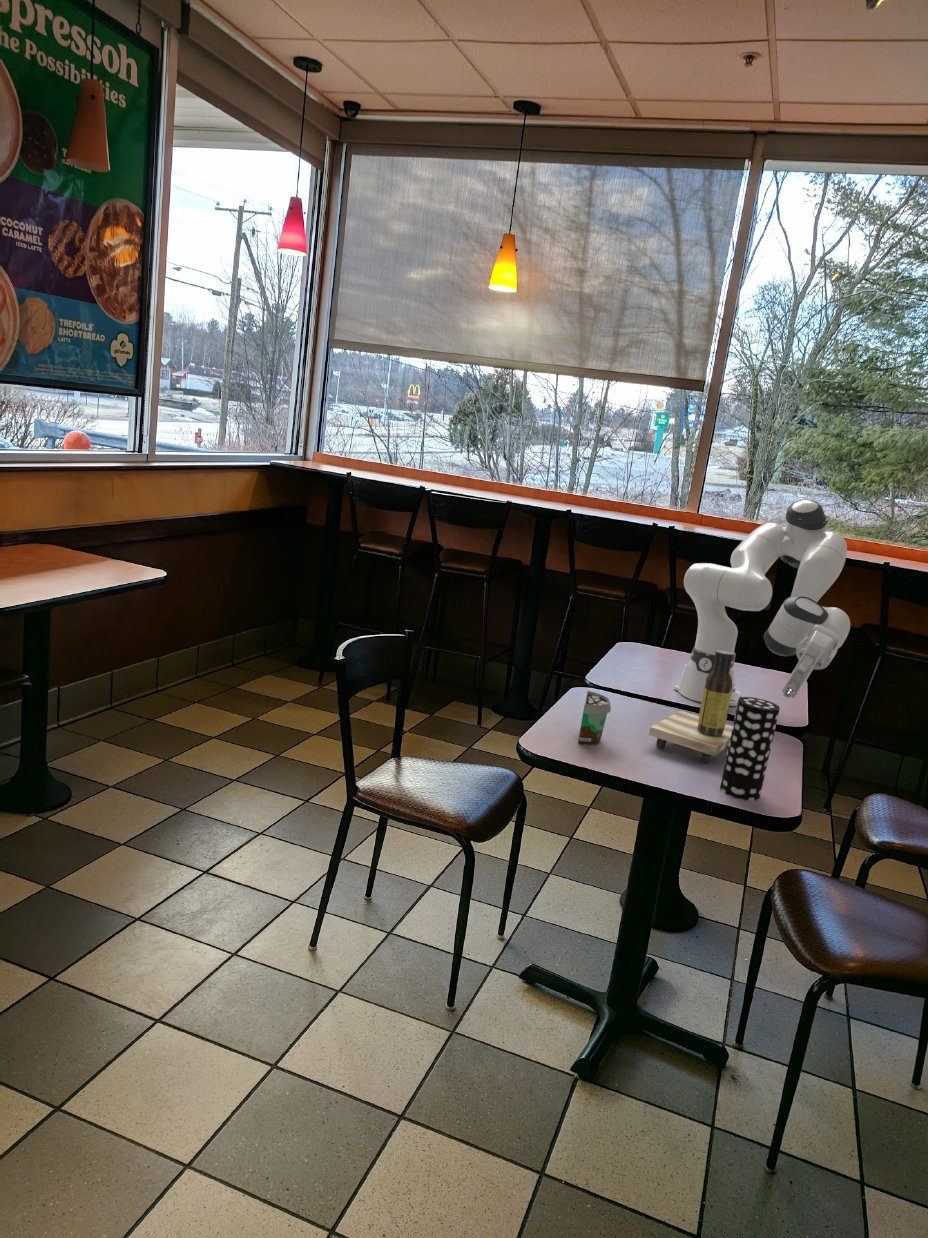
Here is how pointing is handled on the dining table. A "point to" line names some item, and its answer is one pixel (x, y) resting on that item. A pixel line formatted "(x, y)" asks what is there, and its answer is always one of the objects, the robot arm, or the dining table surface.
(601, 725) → the food container
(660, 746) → the dolly
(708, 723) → the sauce bottle
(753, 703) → the white-spotted black cylinder
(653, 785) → the dining table surface
